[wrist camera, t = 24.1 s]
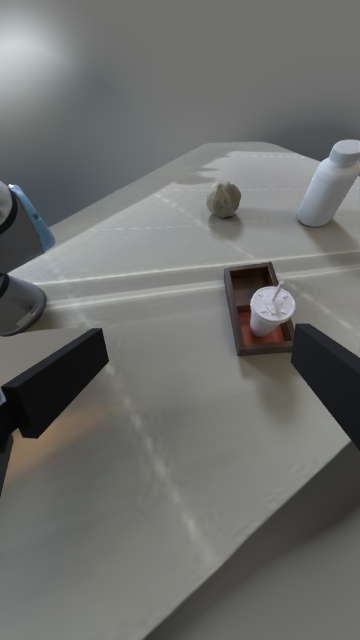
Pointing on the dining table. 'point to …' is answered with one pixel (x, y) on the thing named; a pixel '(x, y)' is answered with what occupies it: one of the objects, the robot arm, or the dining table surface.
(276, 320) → the smoothie
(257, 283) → the tray
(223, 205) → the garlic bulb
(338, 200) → the pill bottle
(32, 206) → the robot arm
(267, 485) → the dining table surface
